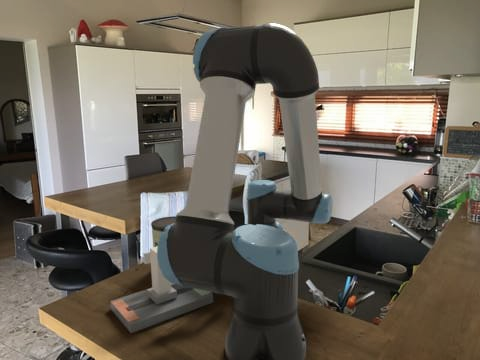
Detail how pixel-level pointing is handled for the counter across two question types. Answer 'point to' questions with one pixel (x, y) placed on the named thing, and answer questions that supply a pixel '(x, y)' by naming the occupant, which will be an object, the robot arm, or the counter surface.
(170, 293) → the handle
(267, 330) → the robot arm
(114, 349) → the counter surface
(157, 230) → the coffee can
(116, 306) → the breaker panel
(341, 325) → the counter surface
